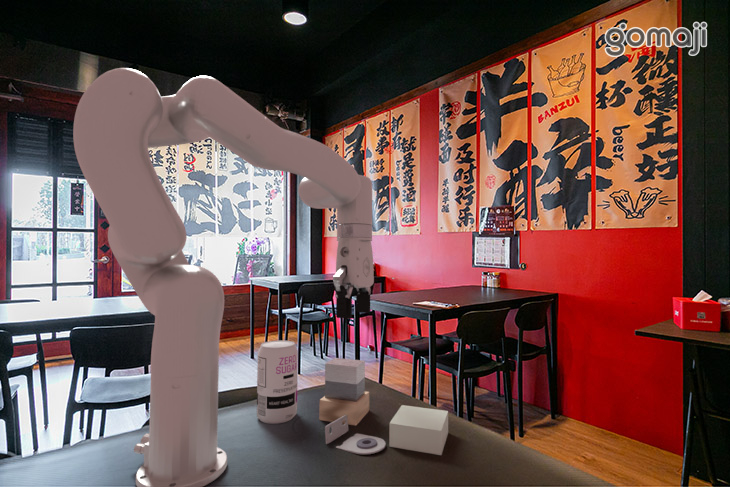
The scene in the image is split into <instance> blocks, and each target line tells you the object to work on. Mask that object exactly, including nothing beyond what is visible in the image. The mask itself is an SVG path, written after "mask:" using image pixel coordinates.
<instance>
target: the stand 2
mask: <svg viewBox="0 0 730 487" xmlns="http://www.w3.org/2000/svg"><path fill="white" fill-rule="evenodd" d="M388 430H389V431H388V432H389V433H388V434H389V439H388V441H389V444H388V446H389V447H390V448H396V449H402V450H407V451H412V452H419V453H426V454H432V455H437V456H442V455H443V451H444V447H445V445H446V443H447V442H446V441H447V439H448V435H449V411H448V410H444V409H443V410H442V409H436V408H435V409H434V408H427V407H420V406H412V405H404V404H401V406H400V407H399V408H398V410H397V412H396V413H395V414H394V416H393V417H392V419H391V420H390V422H389V429H388Z"/></svg>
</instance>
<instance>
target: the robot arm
mask: <svg viewBox="0 0 730 487" xmlns="http://www.w3.org/2000/svg"><path fill="white" fill-rule="evenodd" d="M73 120H74V121H73V131H72V132H73V134H72V135H73V147H74V153H75V156H76V159H77V162H78V165H79V167H80V170H81V172H82V174H83V177H84V179H85V180H86V182H87V185H88V186H89V189H90V190H91V192H92V195H93V196H94V198H95V199H96V202H97V204H98V206H99V207H100V209H101V211H102V213H103V214H104V216H105V218H106V220H107V222H108V224H109V227H108V230H107V240H108V245H109V248H110V250H111V252H112V254H113V256H114V258H115V260H116V261H117V263H118V265H119V266H120V268H121V270H122V272H123V273H124V275H125V277H126V278H127V280H128V281H129V284H130V285H131V287H132V289H134V292H135V294H136V295H137V297H138V298H139V300H140V301H141V303H142V305H143V306H144V307H145V309H147V311H148V312H149V313H150V314H151V315H153V316H154V325H153V326H154V328H153V334H152V339H151V340H152V342H151V352H150V353H151V354H150V389H149V390H150V392H149V393H150V394H149V395H150V396H149V397H150V398H149V423H148V424H149V426H148V427H149V429H148V432H149V433H148V432H147V433H145V434H144V435H142V437H141V439H140V442H139V443H138V442H137V443H136V444H135V446H134V447H133V452H134V453H135V454H140V455H143V463H142V465H141V466H140V467H139V468H138V470H137V471H136V474H135V486H136V487H205V486H207V485H209V484H210V483H213V481H215V480H217V479H218V478H220V476H221V475H222V474H223V473H224V471H225V470H226V469H227V466H228V455H227V452H226V451H225V450H223V449H222V448H220V447H219V446H218V426H219V425H218V424H219V423H218V418H219V417H218V416H219V376H220V375H219V372H220V371H219V370H220V369H219V366H220V363H219V360H220V359H219V358H220V357H219V356H220V354H219V353H220V339H221V338H220V335H221V328H222V327H221V326H222V322H223V316H224V312H225V310H224V309H225V293H224V292H225V291H224V288H223V286H222V282H221V281H220V280H219V278H218V277H217V276H216V275H215V274H214V273H213V272H212V271H211V270H209V269H207V268H205V267H202V266H199V265H194V264H190V263H189V262H188V260H187V257H186V256H185V254H184V252H183V249H184V247H185V245H186V242H187V230H186V226H185V224H184V222H183V220H182V219H181V217H180V215H179V213H178V212H177V210H176V208H175V206H174V204H173V202H172V201H171V199H170V197H169V195H168V194H167V193H168V192H166V189H165V187H164V186H163V183H162V182H161V180H160V178H159V176H158V173H157V172H156V170H155V167H154V164H153V163H152V159H151V157H150V152H149V149H150V148H161V147H170V146H171V147H172V146H180V145H186V144H187V145H188V144H192V143H198V142H202V141H205V140H207V139H209V138H210V139H212V140H214V141H215V142H217V144H219V145H221V146H223V147H224V148H225V149H227V150H229V151H230V152H232V153H234V155H236V156H238V157H239V158H240V159H242V160H243V161H245V162H247V164H249V165H250V166H253V167H256V168H259V169H263V170H268V171H277V172H278V171H279V172H285V173H286V172H287V173H291V174H294V175H296V176H297V175H298V176H300V177H303V178H302V179H301V181H300V182H299V185H298V197H299V198H300V200H301V202H302V203H304V204H305V205H306V206H308V207H310V208H311V209H319V210H320V209H321V210H322V209H336V241H337V247H336V248H337V249H336V263H335V274H334V275H333V276H332V281H333V286H334V287H333V289H334V292H335V293H334V296H335V298H336V301H335V306H336V308H335V313H336V314H335V316H336V317H335V318H337V319H352V317H353V309H352V308H353V306H352V304H353V298H352V297H351V295H352V292H353V289H354V288H355V289H356V291H357V293H356V294H355V297H356V298H355V302H356V303H355V308H356V309H355V310H356V312H357V313H368V314H369V313H370V312H371V293H372V289H371V287H372V286H373V285H374V283H375V278H374V277H375V276H374V275H375V274H374V272H375V271H374V255H373V254H374V252H373V245H372V241H373V182H372V179H371V178H369V176H365V175H362V174H358V172H357V170H356V169H355V168H354V167H353V165H352V164H350V163H349V162H348V161H347V160H346V159H345V158H343V157H342V156H341V155H340V154H339V153H337V152H336V151H335V150H333V149H332V148H330V147H329V146H327V145H326V144H324V143H322V142H320V141H317V140H315V139H313V138H311V137H307V136H305V135H302V134H299V133H298V132H296V131H295V132H294V131H291V130H288V129H285V128H283V127H280V126H279V125H278V124H277V123H275V122H273V121H272V120H271V119H270V118H268V116H266V115H264V114H263V113H262V112H260V111H259V110H257V108H255V107H254V106H252V105H251V104H250V103H248V102H247V101H246V100H245V99H243V98H242V97H241V96H240V95H238V94H236V92H234V91H233V90H232V89H231V88H229V87H228V86H227V85H225V84H223V83H222V82H221V81H219V80H218V79H216V78H214V77H212V76H208V75H199V76H196V77H192V78H190V79H189V80H188V81H186V82H185V83H184V84H183V85H182V86H181V87H180V88H179V89H178V91H177V92H176V93H175V94H172V95H165V96H164V95H163V96H161V94H160V92H159V89H158V88H157V86H156V84H155V83H154V82H153V81H152V80H151V79H150V78H149V77H148V76H147V75H146V74H144V73H142V71H139V70H137V69H133V68H129V67H119V68H118V67H117V68H113V69H110V70H107V71H106V72H104V73H102V74H100V75H99V76H98V77H96V79H94V80H93V82H92V83H90V84H89V86H88V87H87V89H86V90H85V91H84V93H83V94H82V96H81V97H80V99H79V102H78V103H77V106H76V110H75V113H74V118H73Z"/></svg>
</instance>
